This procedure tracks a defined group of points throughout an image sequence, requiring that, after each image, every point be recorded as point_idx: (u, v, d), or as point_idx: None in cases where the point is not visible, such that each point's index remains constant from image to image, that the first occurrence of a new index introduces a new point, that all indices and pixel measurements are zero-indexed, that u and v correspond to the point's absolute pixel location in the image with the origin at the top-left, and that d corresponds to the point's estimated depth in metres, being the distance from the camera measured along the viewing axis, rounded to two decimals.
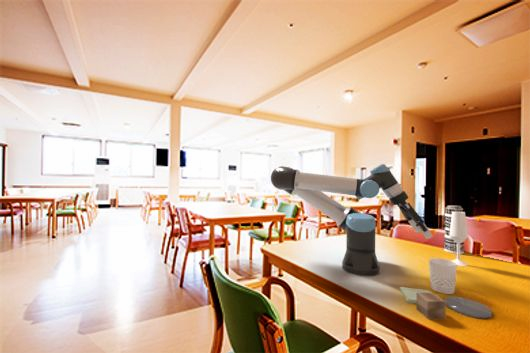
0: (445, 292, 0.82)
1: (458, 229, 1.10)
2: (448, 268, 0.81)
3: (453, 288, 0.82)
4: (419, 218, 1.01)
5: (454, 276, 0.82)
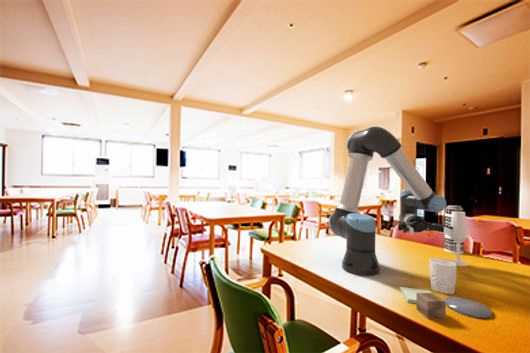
0: (445, 292, 0.82)
1: (458, 229, 1.10)
2: (448, 268, 0.81)
3: (453, 288, 0.82)
4: None
5: (454, 276, 0.82)
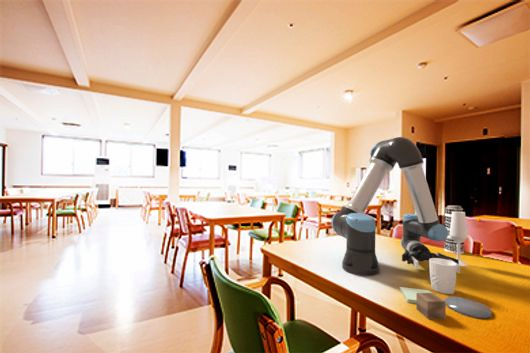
0: (445, 292, 0.82)
1: (458, 229, 1.10)
2: (448, 268, 0.81)
3: (453, 288, 0.82)
4: None
5: (454, 276, 0.82)
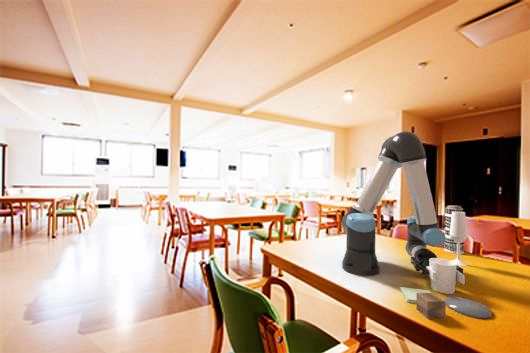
0: (445, 292, 0.82)
1: (458, 229, 1.10)
2: (448, 268, 0.81)
3: (453, 288, 0.82)
4: None
5: (454, 276, 0.82)
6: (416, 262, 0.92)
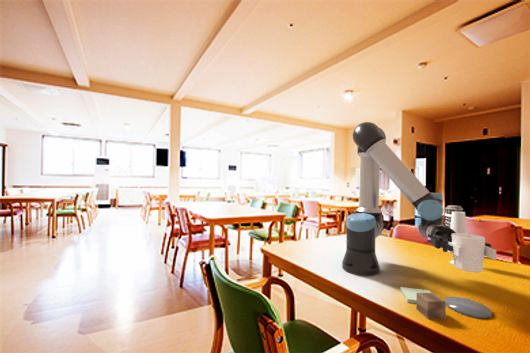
0: (472, 270, 0.70)
1: (458, 229, 1.10)
2: (476, 242, 0.70)
3: (481, 266, 0.70)
4: None
5: (483, 251, 0.70)
6: (435, 239, 0.80)
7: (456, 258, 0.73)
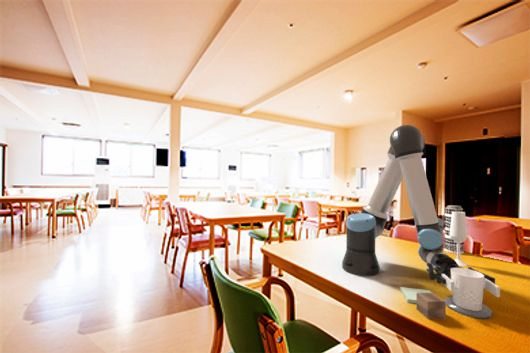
0: (471, 309, 0.70)
1: (458, 229, 1.10)
2: (475, 281, 0.69)
3: (480, 304, 0.70)
4: None
5: (482, 290, 0.70)
6: (430, 269, 0.81)
7: (455, 295, 0.73)
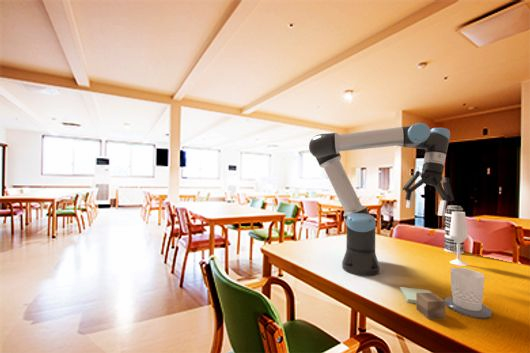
0: (471, 309, 0.70)
1: (458, 229, 1.10)
2: (474, 281, 0.69)
3: (480, 304, 0.70)
4: (407, 185, 1.03)
5: (482, 290, 0.70)
6: None
7: (455, 295, 0.73)
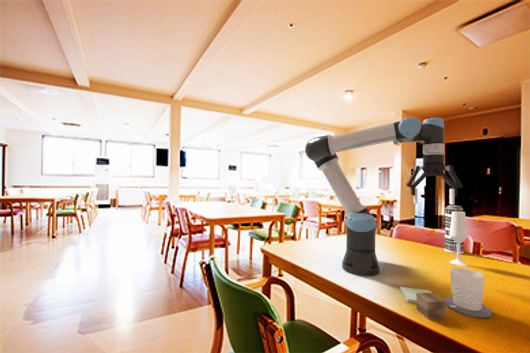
0: (471, 309, 0.70)
1: (458, 229, 1.10)
2: (474, 281, 0.69)
3: (480, 304, 0.70)
4: (409, 181, 1.06)
5: (482, 290, 0.70)
6: None
7: (455, 295, 0.73)
